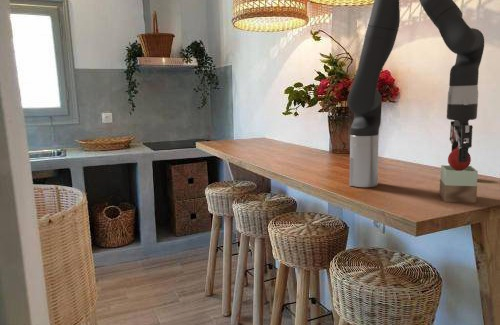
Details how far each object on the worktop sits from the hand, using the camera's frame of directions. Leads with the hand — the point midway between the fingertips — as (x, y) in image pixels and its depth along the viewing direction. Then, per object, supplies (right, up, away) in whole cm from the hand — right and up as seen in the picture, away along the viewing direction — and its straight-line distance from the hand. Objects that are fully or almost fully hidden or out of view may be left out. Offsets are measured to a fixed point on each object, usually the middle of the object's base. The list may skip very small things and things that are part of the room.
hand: (458, 159), depth 113 cm
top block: (0, -7, +1) cm, 7 cm away
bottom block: (+1, -12, +2) cm, 12 cm away
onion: (0, -4, +1) cm, 4 cm away
